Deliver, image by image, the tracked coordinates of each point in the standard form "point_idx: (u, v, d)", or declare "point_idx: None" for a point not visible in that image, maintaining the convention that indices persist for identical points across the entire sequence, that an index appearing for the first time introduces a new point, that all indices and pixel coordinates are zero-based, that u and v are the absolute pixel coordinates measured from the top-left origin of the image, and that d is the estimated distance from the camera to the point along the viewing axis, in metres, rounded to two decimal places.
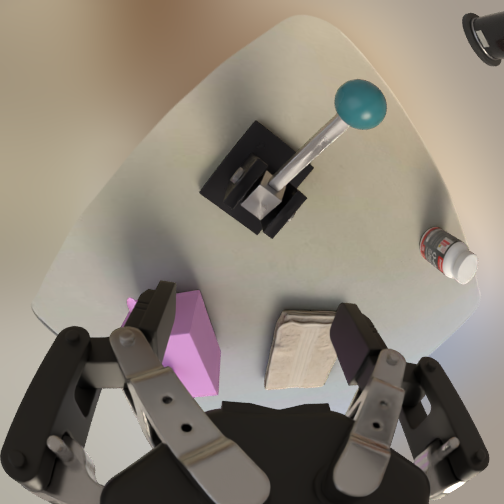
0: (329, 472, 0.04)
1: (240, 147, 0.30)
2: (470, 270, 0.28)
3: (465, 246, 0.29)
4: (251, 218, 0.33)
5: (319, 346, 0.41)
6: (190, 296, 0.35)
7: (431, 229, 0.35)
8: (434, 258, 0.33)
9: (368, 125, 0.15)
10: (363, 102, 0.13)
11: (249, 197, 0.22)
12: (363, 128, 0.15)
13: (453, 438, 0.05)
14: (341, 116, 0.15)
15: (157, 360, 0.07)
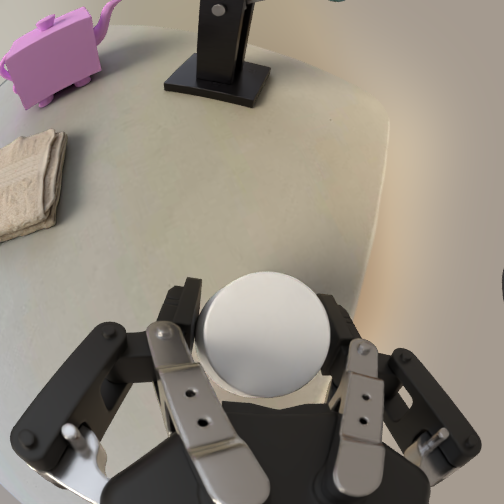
0: (328, 477, 0.04)
1: (243, 63, 0.29)
2: (273, 353, 0.09)
3: None
4: (180, 76, 0.27)
5: (8, 190, 0.17)
6: None
7: None
8: None
9: None
10: None
11: None
12: None
13: (441, 429, 0.06)
14: None
15: (189, 356, 0.08)
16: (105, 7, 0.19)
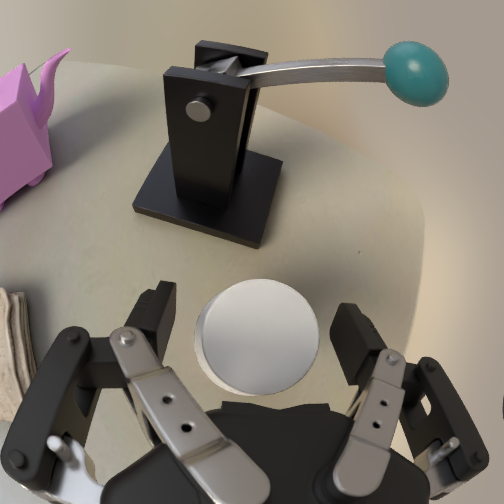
0: (329, 472, 0.04)
1: None
2: (266, 354, 0.10)
3: None
4: (154, 189, 0.21)
5: None
6: (46, 151, 0.19)
7: None
8: None
9: (409, 56, 0.08)
10: (420, 43, 0.08)
11: (212, 62, 0.13)
12: (400, 62, 0.08)
13: (453, 438, 0.05)
14: (385, 53, 0.09)
15: (157, 360, 0.07)
16: (43, 70, 0.14)
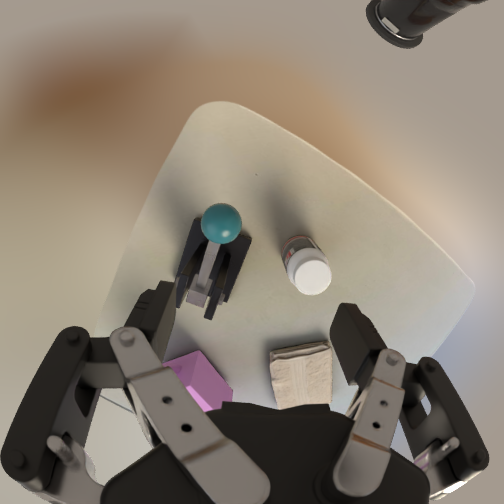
0: (329, 472, 0.04)
1: (190, 243, 0.40)
2: (319, 277, 0.32)
3: (309, 252, 0.34)
4: None
5: (310, 372, 0.46)
6: (193, 356, 0.44)
7: (287, 241, 0.40)
8: None
9: (226, 241, 0.23)
10: (212, 231, 0.22)
11: (188, 297, 0.31)
12: (227, 242, 0.24)
13: (453, 438, 0.05)
14: None
15: (157, 360, 0.07)
16: None
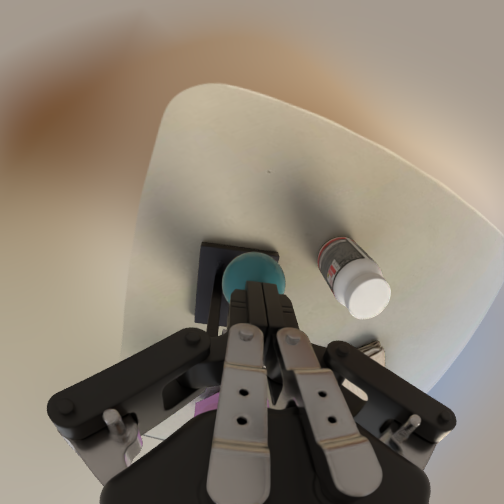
0: (329, 487, 0.04)
1: (203, 275, 0.32)
2: (377, 297, 0.24)
3: (359, 266, 0.25)
4: None
5: None
6: None
7: (323, 248, 0.31)
8: None
9: None
10: None
11: None
12: None
13: (410, 415, 0.06)
14: None
15: (261, 361, 0.08)
16: None
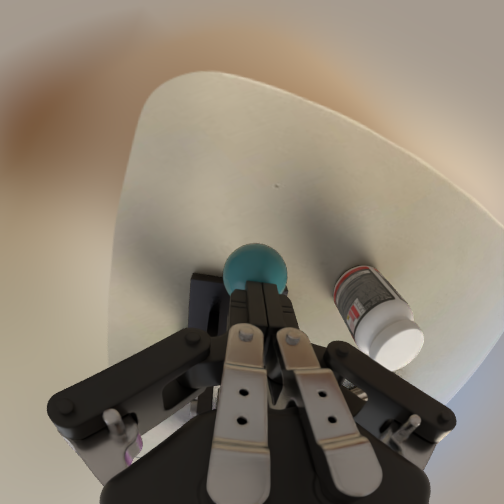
0: (330, 487, 0.04)
1: (195, 312, 0.25)
2: (408, 348, 0.18)
3: (389, 311, 0.19)
4: None
5: None
6: None
7: (341, 280, 0.25)
8: None
9: None
10: (251, 278, 0.13)
11: None
12: None
13: (410, 415, 0.06)
14: None
15: (261, 361, 0.08)
16: None
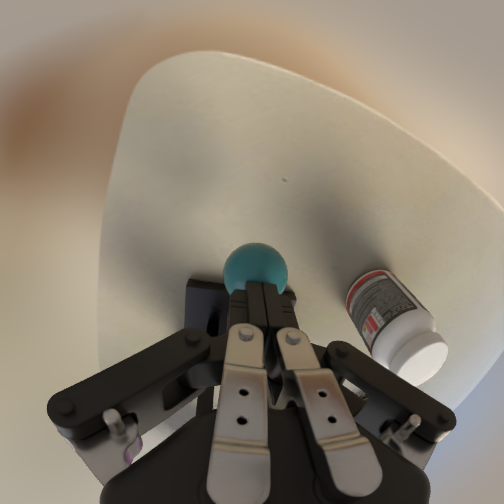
0: (330, 487, 0.04)
1: (191, 323, 0.22)
2: (431, 363, 0.15)
3: (412, 322, 0.16)
4: None
5: None
6: None
7: (355, 286, 0.22)
8: None
9: None
10: (253, 268, 0.14)
11: None
12: None
13: (410, 415, 0.06)
14: None
15: (261, 361, 0.08)
16: None
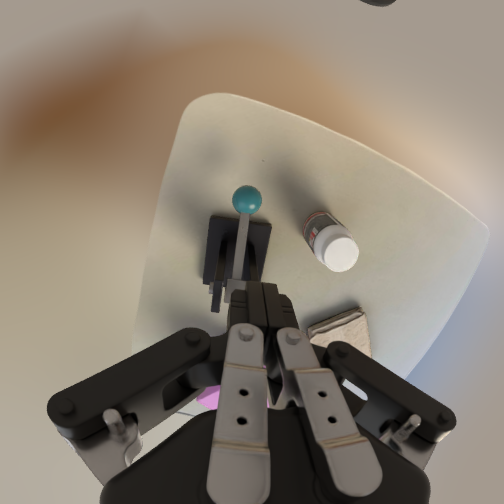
0: (330, 487, 0.04)
1: (211, 242, 0.40)
2: (347, 253, 0.32)
3: (333, 230, 0.33)
4: None
5: (349, 340, 0.47)
6: None
7: (307, 220, 0.40)
8: None
9: (256, 202, 0.31)
10: (245, 193, 0.31)
11: (226, 292, 0.31)
12: (255, 207, 0.32)
13: (410, 415, 0.06)
14: (242, 210, 0.32)
15: (261, 361, 0.08)
16: None
